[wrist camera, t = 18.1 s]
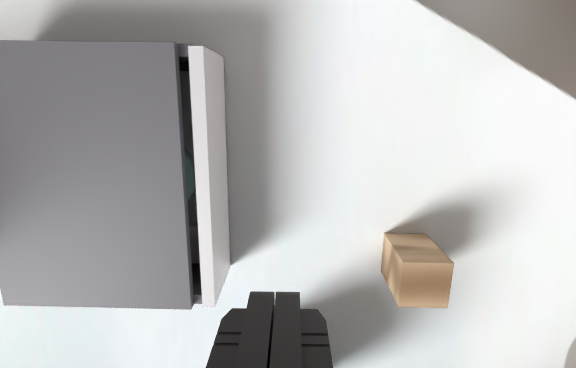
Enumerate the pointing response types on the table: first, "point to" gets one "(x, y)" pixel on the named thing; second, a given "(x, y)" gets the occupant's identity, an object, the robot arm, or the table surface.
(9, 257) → the box
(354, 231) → the table surface
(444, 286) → the wooden block
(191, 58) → the tray
